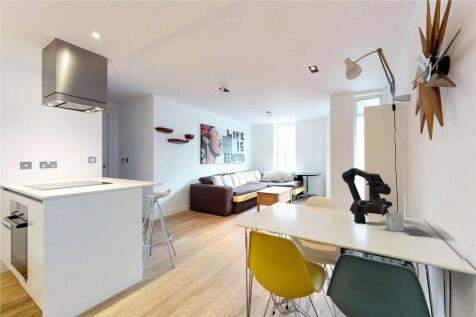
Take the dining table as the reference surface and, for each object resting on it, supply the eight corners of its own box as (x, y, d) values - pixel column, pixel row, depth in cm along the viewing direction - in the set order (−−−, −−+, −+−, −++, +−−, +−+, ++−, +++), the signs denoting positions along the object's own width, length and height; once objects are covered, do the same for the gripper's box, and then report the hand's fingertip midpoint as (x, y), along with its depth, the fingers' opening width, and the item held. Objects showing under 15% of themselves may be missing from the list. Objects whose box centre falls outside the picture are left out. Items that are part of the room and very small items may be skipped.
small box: (398, 228, 136) (397, 212, 136) (404, 231, 130) (403, 214, 130) (385, 228, 137) (384, 212, 137) (390, 231, 131) (390, 214, 131)
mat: (410, 235, 123) (410, 234, 123) (396, 226, 141) (396, 225, 141) (432, 236, 120) (432, 236, 120) (415, 227, 138) (415, 226, 138)
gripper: (361, 194, 132) (362, 218, 131) (396, 194, 126) (396, 220, 126) (357, 191, 142) (357, 214, 142) (388, 192, 137) (389, 215, 137)
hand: (374, 215), depth 137 cm, fingers open, 9 cm apart
